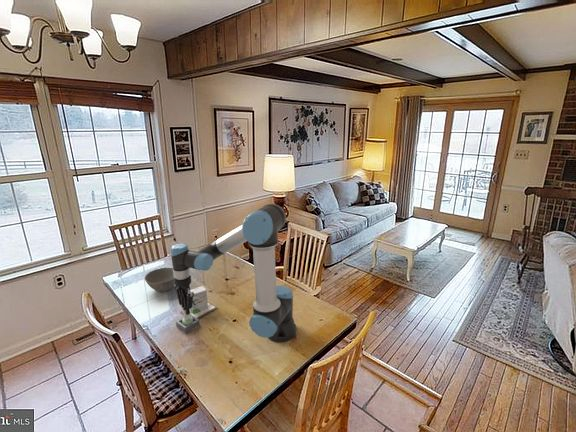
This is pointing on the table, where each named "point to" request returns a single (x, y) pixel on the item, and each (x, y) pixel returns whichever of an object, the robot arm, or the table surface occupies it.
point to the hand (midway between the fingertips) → (187, 318)
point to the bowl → (160, 279)
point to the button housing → (188, 327)
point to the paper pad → (204, 312)
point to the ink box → (199, 299)
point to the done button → (187, 321)
